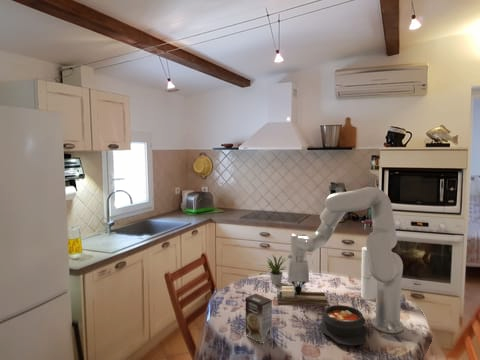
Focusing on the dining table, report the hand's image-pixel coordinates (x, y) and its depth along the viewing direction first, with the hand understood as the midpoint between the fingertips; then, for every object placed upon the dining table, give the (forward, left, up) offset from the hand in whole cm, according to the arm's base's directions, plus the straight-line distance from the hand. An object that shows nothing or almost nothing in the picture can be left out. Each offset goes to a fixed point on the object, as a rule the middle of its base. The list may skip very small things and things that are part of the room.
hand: (298, 293), depth 174 cm
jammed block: (0, +5, -2) cm, 5 cm away
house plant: (+21, +9, -3) cm, 23 cm away
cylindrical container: (+5, -36, -3) cm, 36 cm away
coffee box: (-36, +18, -3) cm, 41 cm away
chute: (0, -2, -3) cm, 3 cm away
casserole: (-31, -16, -3) cm, 35 cm away
